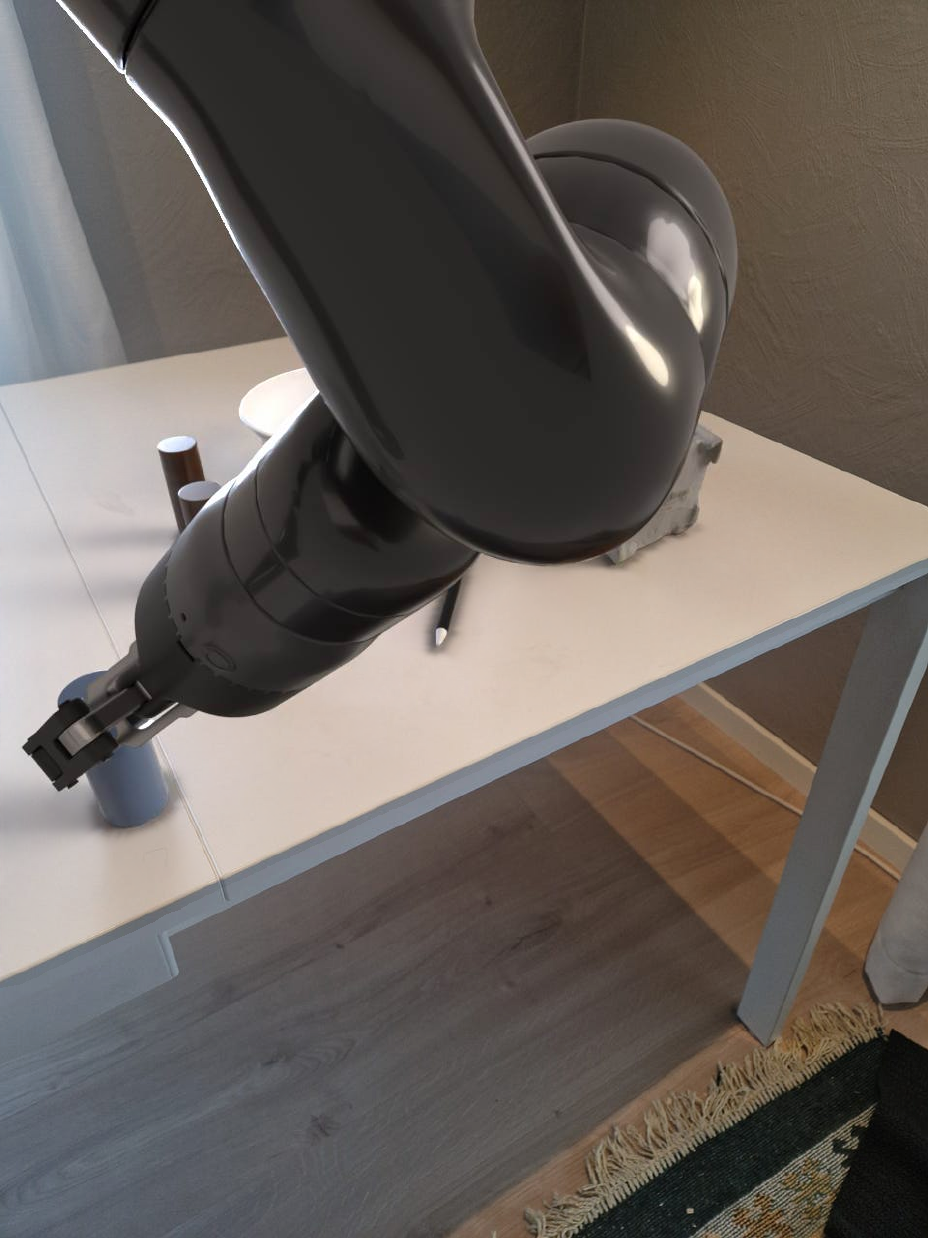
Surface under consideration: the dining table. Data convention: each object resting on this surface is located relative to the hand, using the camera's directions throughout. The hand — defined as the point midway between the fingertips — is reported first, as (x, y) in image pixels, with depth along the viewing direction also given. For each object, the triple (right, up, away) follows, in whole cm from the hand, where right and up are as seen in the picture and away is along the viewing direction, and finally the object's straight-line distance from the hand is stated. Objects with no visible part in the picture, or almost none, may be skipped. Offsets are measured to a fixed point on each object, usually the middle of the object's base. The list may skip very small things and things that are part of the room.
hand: (143, 702), depth 44 cm
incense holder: (+32, +12, +33) cm, 47 cm away
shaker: (-4, -7, +9) cm, 12 cm away
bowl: (+4, +21, +45) cm, 50 cm away
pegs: (-6, +9, +30) cm, 32 cm away
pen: (+16, +7, +28) cm, 33 cm away
